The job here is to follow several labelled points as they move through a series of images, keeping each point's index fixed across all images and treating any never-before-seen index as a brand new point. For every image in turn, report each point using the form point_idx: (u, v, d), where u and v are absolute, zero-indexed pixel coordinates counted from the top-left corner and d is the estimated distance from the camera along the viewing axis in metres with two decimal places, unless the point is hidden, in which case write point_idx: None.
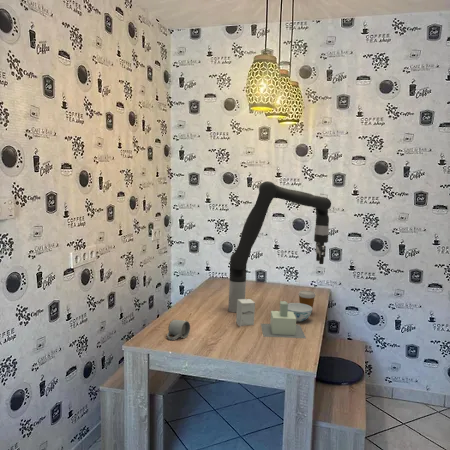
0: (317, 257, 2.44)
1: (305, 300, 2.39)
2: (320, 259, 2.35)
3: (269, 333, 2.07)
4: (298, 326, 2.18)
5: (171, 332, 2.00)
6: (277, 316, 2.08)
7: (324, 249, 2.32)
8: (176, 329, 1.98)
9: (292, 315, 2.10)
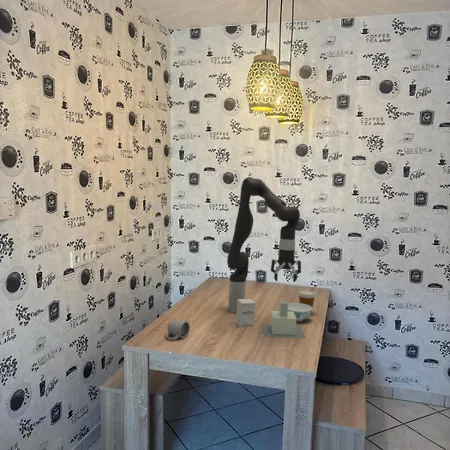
0: None
1: (305, 301, 2.39)
2: (295, 276, 2.08)
3: (269, 333, 2.07)
4: (298, 326, 2.18)
5: (170, 332, 2.00)
6: (277, 316, 2.08)
7: None
8: (175, 329, 1.98)
9: (292, 315, 2.10)
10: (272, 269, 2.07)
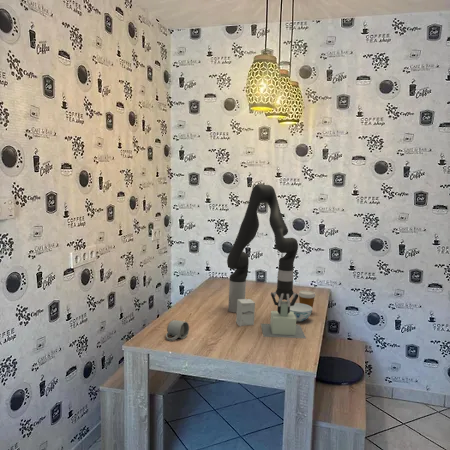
0: (280, 309, 2.10)
1: (305, 301, 2.39)
2: (288, 309, 2.10)
3: (269, 333, 2.07)
4: (298, 326, 2.18)
5: (170, 333, 2.00)
6: (277, 316, 2.08)
7: None
8: (175, 330, 1.98)
9: (292, 315, 2.10)
10: (275, 302, 2.09)
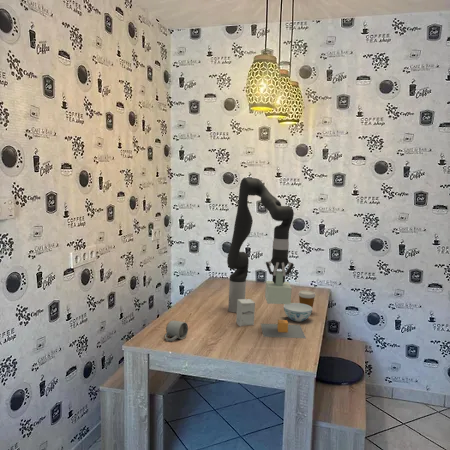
0: (275, 279, 2.08)
1: (305, 301, 2.39)
2: (283, 278, 2.07)
3: (269, 333, 2.07)
4: (298, 326, 2.18)
5: (169, 333, 1.99)
6: (272, 285, 2.06)
7: None
8: (174, 330, 1.97)
9: (287, 285, 2.08)
10: (270, 271, 2.06)
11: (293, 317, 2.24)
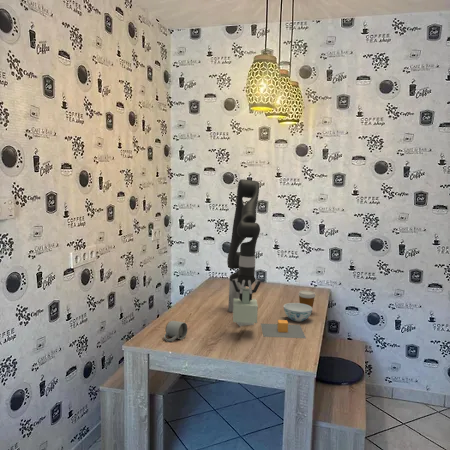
0: None
1: (305, 301, 2.39)
2: (250, 296, 2.03)
3: (269, 333, 2.07)
4: (298, 326, 2.18)
5: (168, 333, 1.99)
6: (238, 303, 2.02)
7: None
8: (173, 330, 1.97)
9: (254, 302, 2.04)
10: (237, 289, 2.02)
11: (293, 317, 2.24)
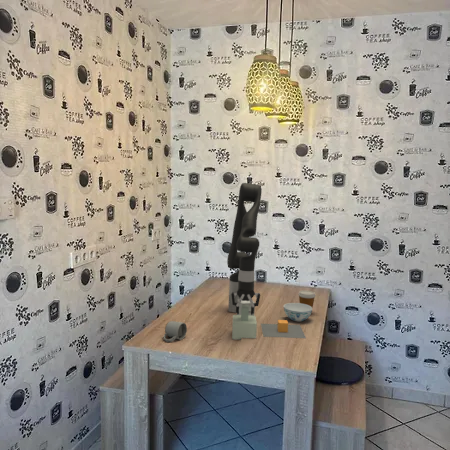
0: (238, 310, 2.04)
1: (305, 300, 2.39)
2: (252, 309, 2.04)
3: (269, 333, 2.07)
4: (298, 326, 2.18)
5: (167, 334, 1.98)
6: (237, 320, 2.03)
7: None
8: (173, 331, 1.96)
9: (253, 320, 2.05)
10: (233, 302, 2.03)
11: (293, 317, 2.24)
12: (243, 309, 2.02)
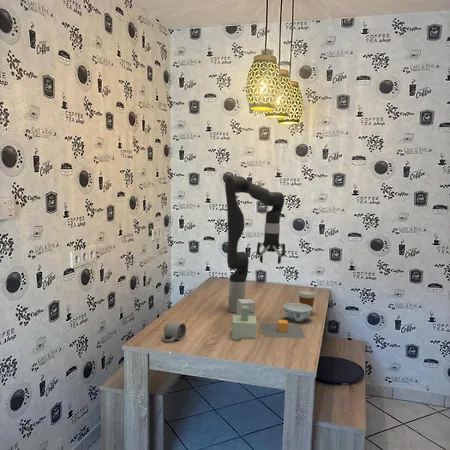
0: (262, 259, 2.19)
1: (305, 301, 2.39)
2: (279, 259, 2.19)
3: (269, 333, 2.07)
4: (298, 326, 2.18)
5: (167, 334, 1.98)
6: (237, 320, 2.03)
7: None
8: (172, 331, 1.96)
9: (253, 320, 2.05)
10: (257, 251, 2.18)
11: (293, 317, 2.24)
12: (243, 309, 2.02)
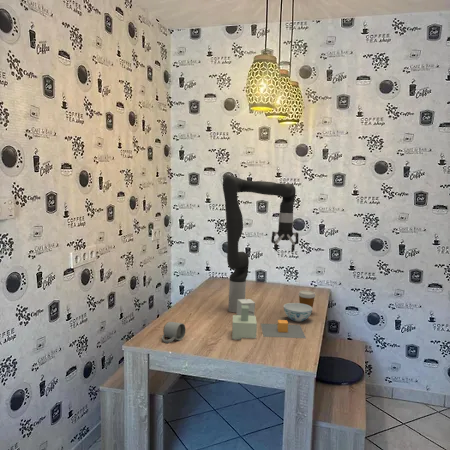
0: None
1: (305, 301, 2.39)
2: (293, 247, 2.31)
3: (269, 333, 2.07)
4: (298, 326, 2.18)
5: (166, 334, 1.97)
6: (237, 320, 2.03)
7: (297, 236, 2.31)
8: (171, 331, 1.95)
9: (253, 320, 2.05)
10: (272, 240, 2.30)
11: (293, 317, 2.24)
12: (243, 309, 2.02)
